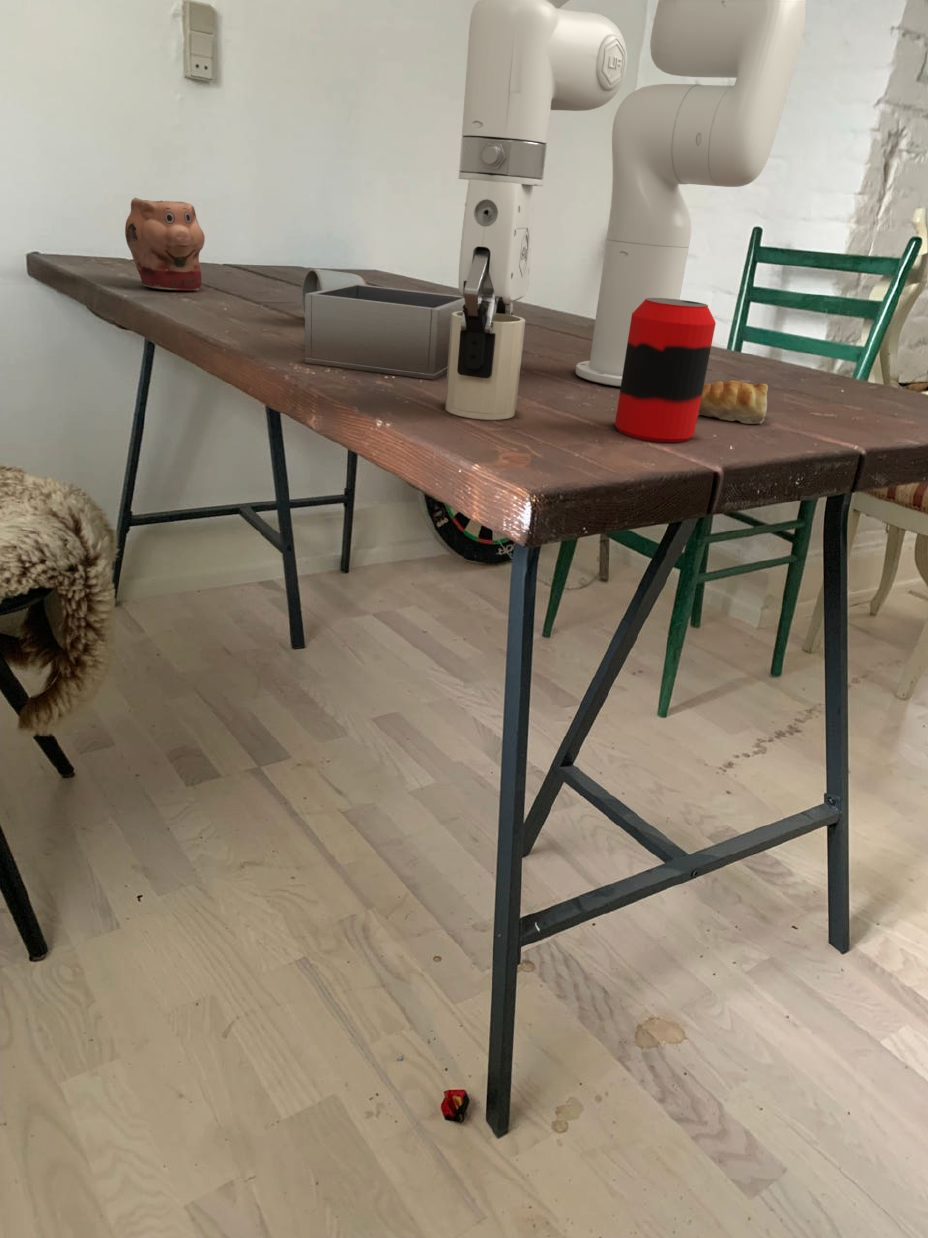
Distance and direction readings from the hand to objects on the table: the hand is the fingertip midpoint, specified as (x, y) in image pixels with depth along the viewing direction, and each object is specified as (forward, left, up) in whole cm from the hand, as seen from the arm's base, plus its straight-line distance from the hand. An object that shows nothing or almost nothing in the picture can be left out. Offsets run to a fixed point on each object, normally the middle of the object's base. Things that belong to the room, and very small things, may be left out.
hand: (483, 368), depth 88 cm
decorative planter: (+70, -61, -4) cm, 93 cm away
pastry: (-24, -14, -4) cm, 28 cm away
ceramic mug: (+33, -43, -4) cm, 54 cm away
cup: (0, 0, -4) cm, 4 cm away
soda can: (-17, -1, -4) cm, 18 cm away
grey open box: (+16, -20, -4) cm, 26 cm away
